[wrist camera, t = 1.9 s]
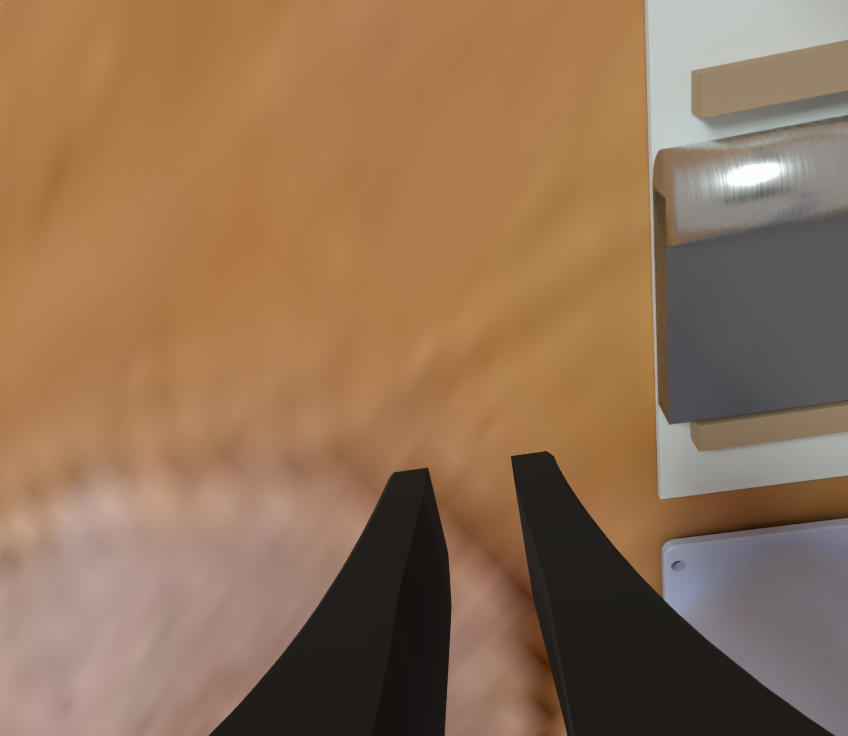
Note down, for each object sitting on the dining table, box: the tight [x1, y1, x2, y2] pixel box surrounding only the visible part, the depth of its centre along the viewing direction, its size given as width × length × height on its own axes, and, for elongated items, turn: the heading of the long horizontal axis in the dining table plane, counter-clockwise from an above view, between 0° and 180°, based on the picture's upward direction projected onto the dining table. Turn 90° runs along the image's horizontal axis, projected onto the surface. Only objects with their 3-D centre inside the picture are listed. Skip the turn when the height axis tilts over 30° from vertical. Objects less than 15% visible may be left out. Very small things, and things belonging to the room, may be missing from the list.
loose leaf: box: [653, 115, 848, 425], centre depth 18 cm, size 8×7×2 cm
